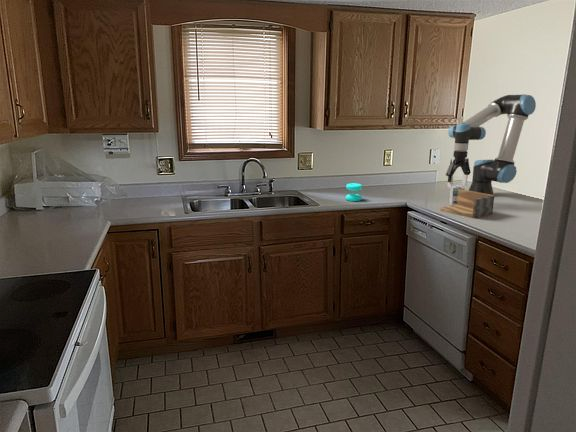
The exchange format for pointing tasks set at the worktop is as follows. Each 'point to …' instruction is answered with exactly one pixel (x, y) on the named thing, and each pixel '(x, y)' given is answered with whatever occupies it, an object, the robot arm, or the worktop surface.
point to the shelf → (471, 204)
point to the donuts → (353, 188)
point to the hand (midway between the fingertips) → (456, 186)
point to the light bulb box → (454, 194)
